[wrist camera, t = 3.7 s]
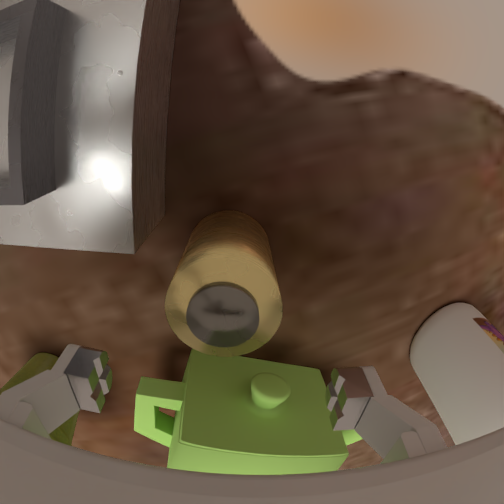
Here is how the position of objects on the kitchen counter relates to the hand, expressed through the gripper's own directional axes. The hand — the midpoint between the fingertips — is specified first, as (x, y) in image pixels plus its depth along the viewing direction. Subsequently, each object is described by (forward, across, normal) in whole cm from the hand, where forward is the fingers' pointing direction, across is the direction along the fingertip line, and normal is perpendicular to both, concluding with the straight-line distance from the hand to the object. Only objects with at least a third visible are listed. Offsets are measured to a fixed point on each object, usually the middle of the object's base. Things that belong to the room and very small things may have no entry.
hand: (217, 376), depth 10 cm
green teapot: (+11, -3, +11) cm, 16 cm away
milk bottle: (+11, -19, +6) cm, 23 cm away
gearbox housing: (+10, +12, -10) cm, 18 cm away
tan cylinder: (+10, 0, -1) cm, 10 cm away
